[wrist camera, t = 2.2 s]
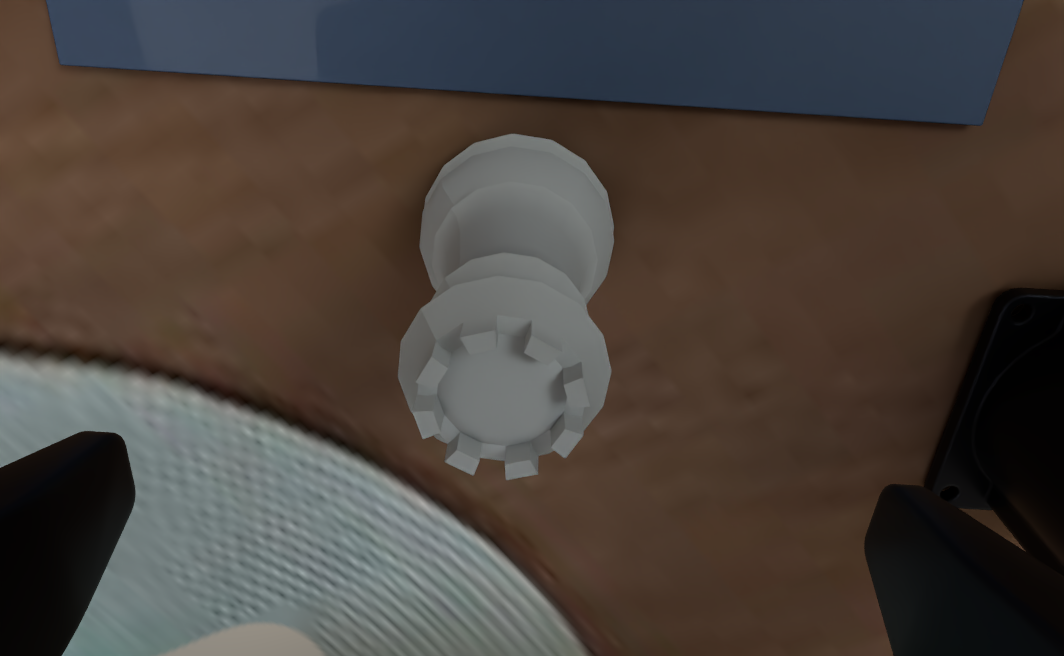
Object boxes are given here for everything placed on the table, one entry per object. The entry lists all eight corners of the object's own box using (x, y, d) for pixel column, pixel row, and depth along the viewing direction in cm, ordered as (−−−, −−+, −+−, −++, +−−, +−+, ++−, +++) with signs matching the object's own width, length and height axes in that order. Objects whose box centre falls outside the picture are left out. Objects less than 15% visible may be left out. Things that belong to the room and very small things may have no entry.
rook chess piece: (386, 228, 18) (280, 414, 11) (511, 86, 16) (484, 192, 9) (524, 340, 19) (512, 573, 12) (651, 218, 18) (724, 403, 10)
